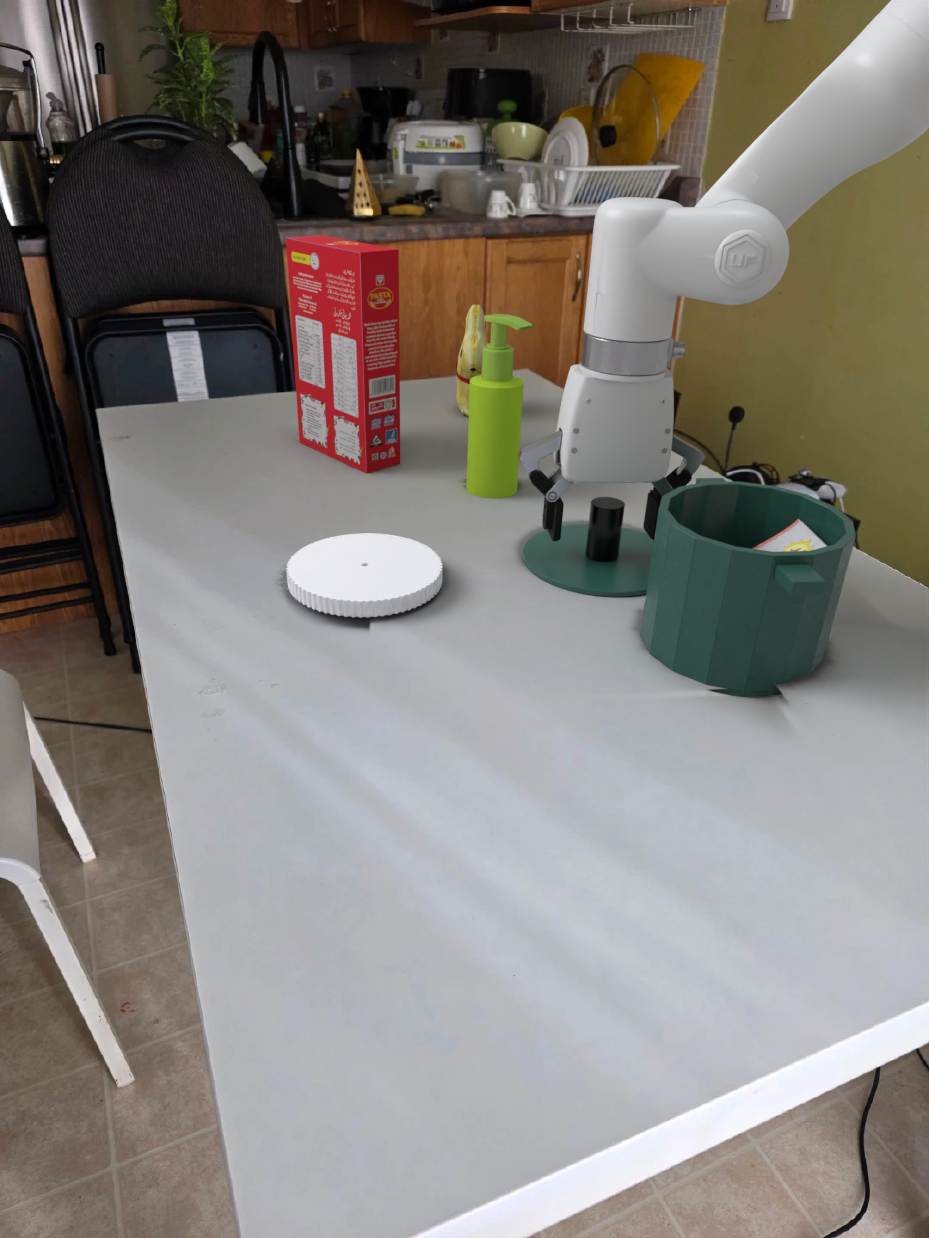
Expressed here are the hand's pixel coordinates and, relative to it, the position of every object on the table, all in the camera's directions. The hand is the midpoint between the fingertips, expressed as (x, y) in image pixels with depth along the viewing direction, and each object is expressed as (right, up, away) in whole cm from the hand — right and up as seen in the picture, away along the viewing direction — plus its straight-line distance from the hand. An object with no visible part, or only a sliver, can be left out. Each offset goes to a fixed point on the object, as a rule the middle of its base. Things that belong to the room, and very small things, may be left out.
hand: (602, 535), depth 85 cm
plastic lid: (-22, -6, -4) cm, 23 cm away
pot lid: (0, -2, +1) cm, 3 cm away
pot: (+9, -11, -12) cm, 18 cm away
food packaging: (-28, +13, +28) cm, 42 cm away
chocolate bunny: (-11, +23, +47) cm, 53 cm away
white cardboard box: (+9, -9, -12) cm, 18 cm away
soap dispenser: (-10, +6, +17) cm, 21 cm away
